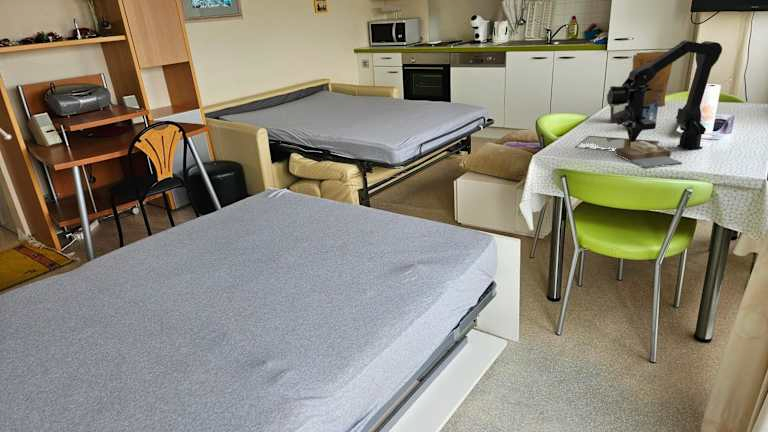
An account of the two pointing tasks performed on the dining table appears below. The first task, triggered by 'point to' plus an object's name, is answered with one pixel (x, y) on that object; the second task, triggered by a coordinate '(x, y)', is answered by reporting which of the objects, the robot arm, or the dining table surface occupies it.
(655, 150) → the maple tile
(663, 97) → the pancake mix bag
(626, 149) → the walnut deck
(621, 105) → the food container
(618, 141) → the rectangular mirror
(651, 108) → the vhs cassette tape
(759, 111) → the dining table surface
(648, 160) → the rubber mat
